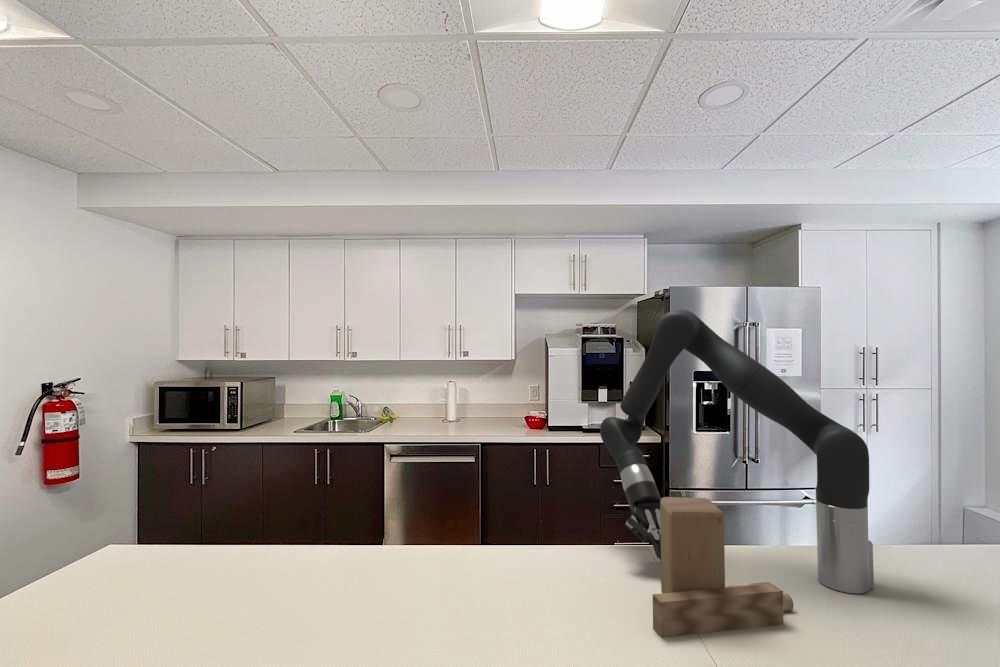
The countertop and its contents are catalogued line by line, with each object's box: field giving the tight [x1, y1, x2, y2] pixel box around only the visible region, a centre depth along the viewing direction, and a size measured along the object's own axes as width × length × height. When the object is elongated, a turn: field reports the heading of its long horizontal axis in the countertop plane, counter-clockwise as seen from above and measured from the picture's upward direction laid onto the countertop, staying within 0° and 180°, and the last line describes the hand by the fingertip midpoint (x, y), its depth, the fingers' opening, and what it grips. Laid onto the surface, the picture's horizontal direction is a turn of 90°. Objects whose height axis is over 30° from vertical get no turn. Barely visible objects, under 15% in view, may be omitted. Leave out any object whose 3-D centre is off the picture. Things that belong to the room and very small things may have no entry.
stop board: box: [652, 583, 785, 638], centre depth 93 cm, size 24×3×6 cm, turn 100°
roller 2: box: [783, 592, 795, 612], centre depth 99 cm, size 10×3×3 cm, turn 100°
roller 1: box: [725, 581, 772, 588], centre depth 104 cm, size 10×3×3 cm
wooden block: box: [660, 496, 726, 594], centre depth 101 cm, size 10×10×20 cm
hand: (665, 559), depth 112 cm, fingers closed
